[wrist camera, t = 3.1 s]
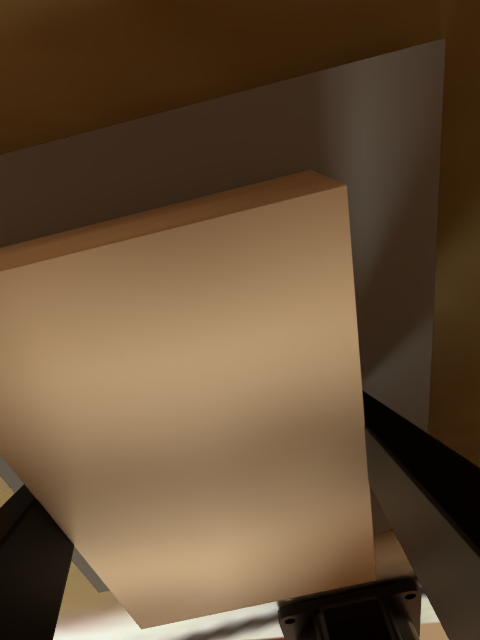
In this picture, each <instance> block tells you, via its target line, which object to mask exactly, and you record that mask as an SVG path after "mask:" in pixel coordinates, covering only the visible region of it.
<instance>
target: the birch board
mask: <svg viewBox="0 0 480 640" xmlns="http://www.w3.org/2000/svg"><path fill="white" fill-rule="evenodd" d="M364 426H365V421H364V407H363V394H362V381H361V368H360V355H359V341H358V328H357V315H356V302H355V289H354V275H353V262H352V249H351V236H350V222H349V209H348V196H347V185H345V184H343V183H340V182H338V181H336V180H334V179H331V178H329V177H327V176H324V175H322V174H320V173H317V172H315V171H313V170H307V171H303V172H299V173H295V174H291V175H287V176H283V177H279V178H275V179H271V180H267V181H263V182H259V183H255V184H251V185H247V186H243V187H239V188H235V189H231V190H227V191H223V192H219V193H215V194H211V195H207V196H203V197H199V198H195V199H192V200H188V201H184V202H180V203H176V204H172V205H168V206H164V207H160V208H156V209H152V210H148V211H144V212H140V213H136V214H132V215H128V216H124V217H120V218H116V219H112V220H108V221H104V222H100V223H96V224H92V225H88V226H84V227H80V228H76V229H72V230H69V231H65V232H61V233H57V234H53V235H49V236H45V237H41V238H37V239H33V240H29V241H25V242H21V243H17V244H13V245H9V246H5V247H1V248H0V455H1V456H2V457H3V458H4V460H5V461H6V462H7V463H8V464H9V466H10V467H11V468H12V469H13V471H14V472H15V473H16V474H17V476H18V477H19V478H20V479H21V481H22V482H23V483H24V484H25V486H26V487H27V488H28V489H29V491H30V492H31V493H32V494H33V495H34V497H35V498H36V499H37V500H38V501H39V502H40V503H41V504H42V506H43V507H44V508H45V509H46V511H47V512H48V513H49V514H50V515H51V517H52V518H53V519H54V520H55V522H56V523H57V524H58V525H59V527H60V528H61V529H62V530H63V532H64V533H65V534H66V535H67V537H68V538H69V539H70V540H71V542H72V543H73V544H74V546H75V548H76V549H77V550H78V551H79V552H80V554H81V555H82V556H83V557H84V559H85V560H86V561H87V562H88V564H89V565H90V566H91V567H92V569H93V570H94V571H95V572H96V574H97V575H98V576H99V577H100V579H101V580H102V581H103V582H104V583H105V585H106V586H107V587H108V588H109V590H110V591H111V592H112V593H113V595H114V596H115V597H116V598H117V600H118V601H119V602H120V603H121V605H122V606H123V607H124V608H125V610H126V611H127V612H128V613H129V614H130V616H131V617H132V618H133V619H134V621H135V622H136V623H137V624H138V626H139V627H140V628H141V629H145V628H150V627H155V626H159V625H164V624H169V623H174V622H179V621H183V620H188V619H193V618H198V617H203V616H207V615H212V614H217V613H222V612H227V611H231V610H236V609H241V608H246V607H251V606H255V605H260V604H265V603H270V602H275V601H279V600H284V599H289V598H294V597H299V596H303V595H308V594H313V593H318V592H323V591H327V590H332V589H337V588H342V587H347V586H351V585H356V584H361V583H366V582H371V581H375V580H377V579H376V566H375V553H374V539H373V526H372V513H371V500H370V487H369V481H368V470H367V457H366V444H365V432H364Z"/></svg>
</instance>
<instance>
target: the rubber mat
mask: <svg viewBox="0 0 480 640" xmlns="http://www.w3.org/2000/svg"><path fill="white" fill-rule="evenodd" d="M445 44H446V38H443V39H440V40H436V41H432V42H428V43H424V44H421V45H417V46H413V47H409V48H405V49H401V50H398V51H394V52H390V53H386V54H382V55H379V56H375V57H371V58H367V59H363V60H359V61H356V62H352V63H348V64H344V65H340V66H337V67H333V68H329V69H325V70H321V71H317V72H314V73H310V74H306V75H302V76H298V77H295V78H291V79H287V80H283V81H279V82H275V83H272V84H268V85H264V86H260V87H256V88H253V89H249V90H245V91H241V92H237V93H233V94H230V95H226V96H222V97H218V98H214V99H211V100H207V101H203V102H199V103H195V104H191V105H188V106H184V107H180V108H176V109H172V110H169V111H165V112H161V113H157V114H153V115H149V116H146V117H142V118H138V119H134V120H130V121H127V122H123V123H119V124H115V125H111V126H107V127H104V128H100V129H96V130H92V131H88V132H85V133H81V134H77V135H73V136H69V137H65V138H62V139H58V140H54V141H50V142H46V143H43V144H39V145H35V146H31V147H27V148H23V149H20V150H16V151H12V152H8V153H4V154H1V155H0V248H1V247H5V246H9V245H13V244H17V243H21V242H25V241H29V240H33V239H37V238H41V237H45V236H49V235H53V234H57V233H61V232H65V231H69V230H72V229H76V228H80V227H84V226H88V225H92V224H96V223H100V222H104V221H108V220H112V219H116V218H120V217H124V216H128V215H132V214H136V213H140V212H144V211H148V210H152V209H156V208H160V207H164V206H168V205H172V204H176V203H180V202H184V201H188V200H192V199H195V198H199V197H203V196H207V195H211V194H215V193H219V192H223V191H227V190H231V189H235V188H239V187H243V186H247V185H251V184H255V183H259V182H263V181H267V180H271V179H275V178H279V177H283V176H287V175H291V174H295V173H299V172H303V171H307V170H313V171H315V172H317V173H320V174H322V175H324V176H327V177H329V178H331V179H334V180H336V181H338V182H340V183H343V184H345V185H347V196H348V209H349V222H350V236H351V249H352V262H353V275H354V289H355V302H356V315H357V328H358V341H359V355H360V368H361V381H362V390H363V391H365V392H366V393H368V394H369V395H371V396H372V397H374V398H375V399H377V400H378V401H380V402H381V403H383V404H384V405H386V406H387V407H389V408H390V409H392V410H393V411H395V412H396V413H398V414H399V415H401V416H402V417H404V418H405V419H407V420H408V421H410V422H411V423H413V424H414V425H416V426H417V427H419V428H420V429H422V430H423V431H425V432H426V433H428V426H429V404H430V381H431V359H432V336H433V314H434V291H435V269H436V246H437V224H438V201H439V179H440V156H441V134H442V111H443V89H444V66H445ZM0 476H1V477H2V478H3V480H4V481H5V482H6V483H7V484H8V485H9V487H10V488H11V489H12V490H13V491H14V493H16V492H17V491H18V490H19V489H20V488H21V487H22V486H23V485H24V483H23V482H22V481H21V479H20V478H19V477H18V476H17V474H16V473H15V472H14V471H13V469H12V468H11V467H10V466H9V464H8V463H7V462H6V461H5V460H4V458H3V457H2V456H1V455H0ZM369 487H370V500H371V513H372V526H373V534H377V533H381V532H386V531H391V530H393V529H392V527H391V525H390V523H389V521H388V519H387V517H386V515H385V513H384V511H383V509H382V507H381V505H380V503H379V501H378V499H377V497H376V495H375V493H374V492H373V489H372V487H371V485H370V483H369ZM72 561H73V563H74V564H75V565H76V566H77V567H78V569H79V570H80V571H81V572H82V573H83V574H84V576H85V577H86V578H87V579H88V580H89V582H90V583H91V584H92V585H93V586H94V588H95V589H96V590H97V591H98V592H99V593H100V592H104V591H109V588H108V587H107V586H106V585H105V583H104V582H103V581H102V580H101V579H100V577H99V576H98V575H97V574H96V572H95V571H94V570H93V569H92V567H91V566H90V565H89V564H88V562H87V561H86V560H85V559H84V557H83V556H82V555H81V554H80V552H79V551H78V550H77V549H76V548H75V546H74V550H73V555H72Z"/></svg>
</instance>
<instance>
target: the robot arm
mask: <svg viewBox="0 0 480 640" xmlns="http://www.w3.org/2000/svg"><path fill="white" fill-rule="evenodd" d="M362 394H363V407H364V421H365V426H364V432H365V444H366V457H367V470H368V481H369V483H370V485H371V487H372V489H373V492H374V493H375V495H376V497H377V499H378V501H379V503H380V505H381V507H382V509H383V511H384V513H385V515H386V517H387V519H388V521H389V523H390V525H391V527H392V529H393V531H394V533H395V535H396V537H397V539H398V540H399V542H400V544H401V546H402V548H403V550H404V552H405V554H406V556H407V558H408V560H409V562H410V564H411V566H412V568H413V570H414V572H415V574H416V576H417V578H418V580H419V582H420V584H421V586H422V588H423V589H424V591H425V593H426V595H427V597H428V599H429V601H430V603H431V605H432V607H433V609H434V611H435V613H436V615H437V617H438V619H439V621H440V623H441V625H442V627H443V629H444V630H445V632H446V635H447V636H448V638H449V640H480V468H479V467H477V466H476V465H474V464H473V463H471V462H470V461H468V460H467V459H465V458H464V457H462V456H461V455H459V454H458V453H456V452H455V451H453V450H452V449H450V448H449V447H447V446H446V445H444V444H443V443H441V442H440V441H438V440H437V439H435V438H434V437H432V436H431V435H429V434H428V433H426V432H425V431H423V430H422V429H420V428H419V427H417V426H416V425H414V424H413V423H411V422H410V421H408V420H407V419H405V418H404V417H402V416H401V415H399V414H398V413H396V412H395V411H393V410H392V409H390V408H389V407H387V406H386V405H384V404H383V403H381V402H380V401H378V400H377V399H375V398H374V397H372V396H371V395H369V394H368V393H366V392H365V391H363V390H362ZM73 550H74V544H73V543H72V542H71V540H70V539H69V538H68V537H67V535H66V534H65V533H64V532H63V530H62V529H61V528H60V527H59V525H58V524H57V523H56V522H55V520H54V519H53V518H52V517H51V515H50V514H49V513H48V512H47V511H46V509H45V508H44V507H43V506H42V504H41V503H40V502H39V501H38V500H37V499H36V498H35V497H34V495H33V494H32V493H31V492H30V491H29V489H28V488H27V487H26V486H25V484H24V485H23V486H22V487H21V488H20V489H19V490H18V491H17V492H16V493H15V494H14V495H13V496H12V497H11V498H10V499H9V500H8V501H7V502H6V503H5V504H4V505H3V506H2V507H1V508H0V640H53V637H54V633H55V628H56V624H57V620H58V615H59V611H60V607H61V603H62V598H63V594H64V590H65V585H66V581H67V577H68V573H69V568H70V564H71V560H72V555H73ZM420 614H421V592H420V590H419V588H418V585H417V583H416V582H415V581H404V582H399V583H394V584H389V585H385V586H380V587H375V588H370V589H365V590H361V591H356V592H351V593H346V594H341V595H336V596H332V597H327V598H322V599H317V600H312V601H308V602H303V603H298V604H293V605H288V606H284V607H282V608H280V609H279V610H278V619H279V624H280V627H281V630H282V632H283V635H284V638H285V640H420V639H419V636H420Z"/></svg>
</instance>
